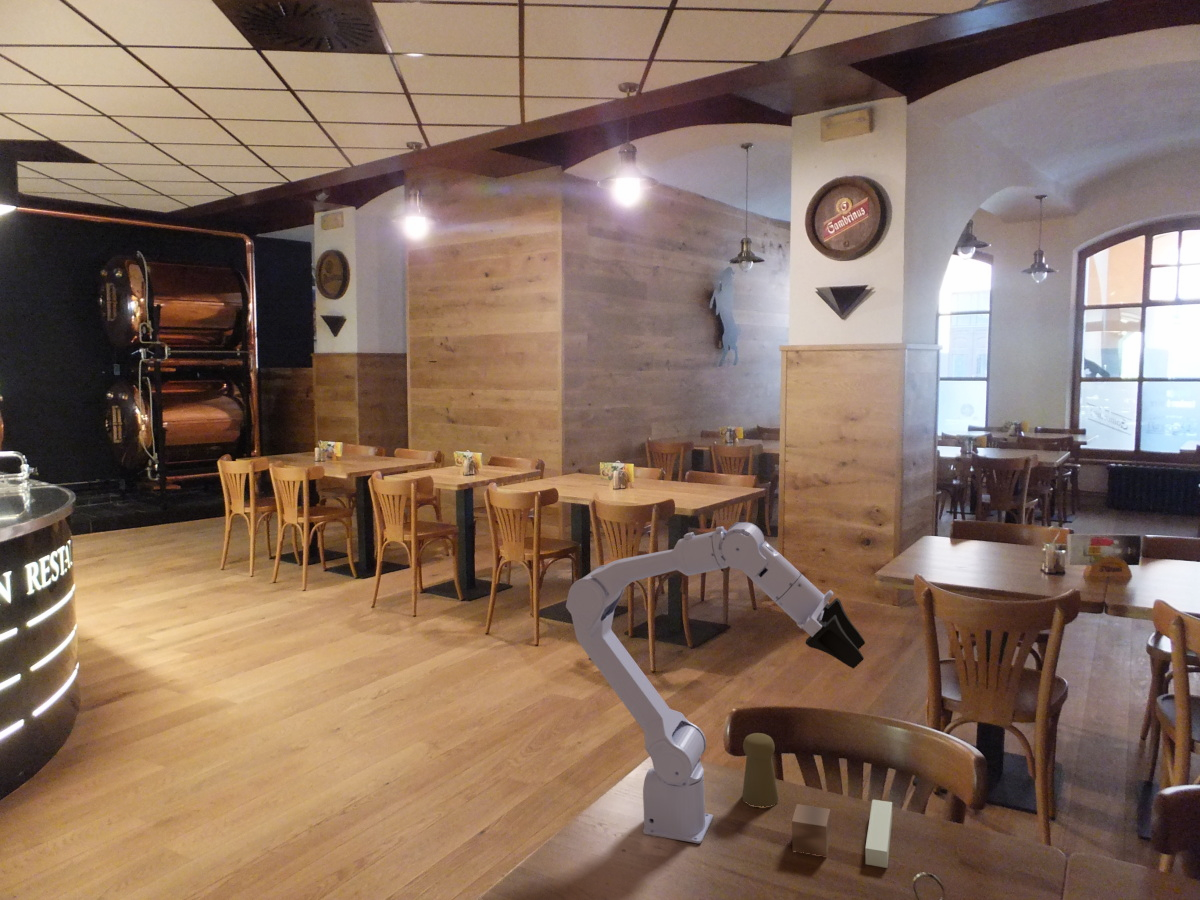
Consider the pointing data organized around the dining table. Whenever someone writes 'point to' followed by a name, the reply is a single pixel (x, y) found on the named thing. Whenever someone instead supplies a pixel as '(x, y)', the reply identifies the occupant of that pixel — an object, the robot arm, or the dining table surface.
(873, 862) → the cream rectangular bar
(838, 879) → the dining table surface
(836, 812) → the dining table surface
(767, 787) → the cork
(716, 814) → the dining table surface
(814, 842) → the walnut block
